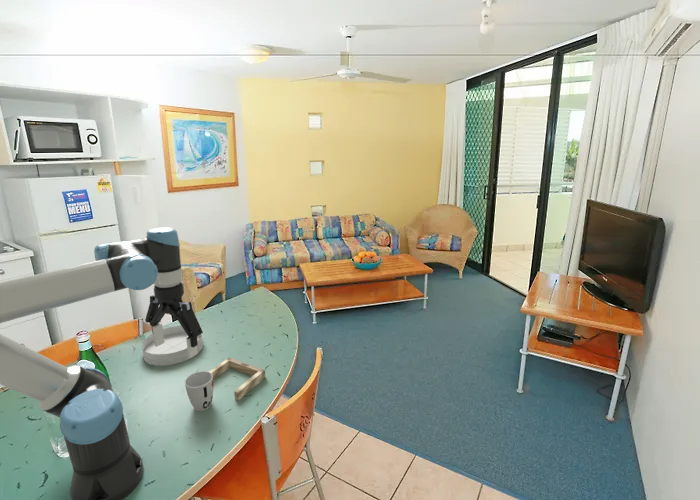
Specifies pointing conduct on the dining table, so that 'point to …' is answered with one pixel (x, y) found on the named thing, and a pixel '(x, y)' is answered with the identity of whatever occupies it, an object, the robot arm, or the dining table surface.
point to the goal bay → (254, 371)
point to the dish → (168, 347)
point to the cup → (200, 389)
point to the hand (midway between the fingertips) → (175, 350)
